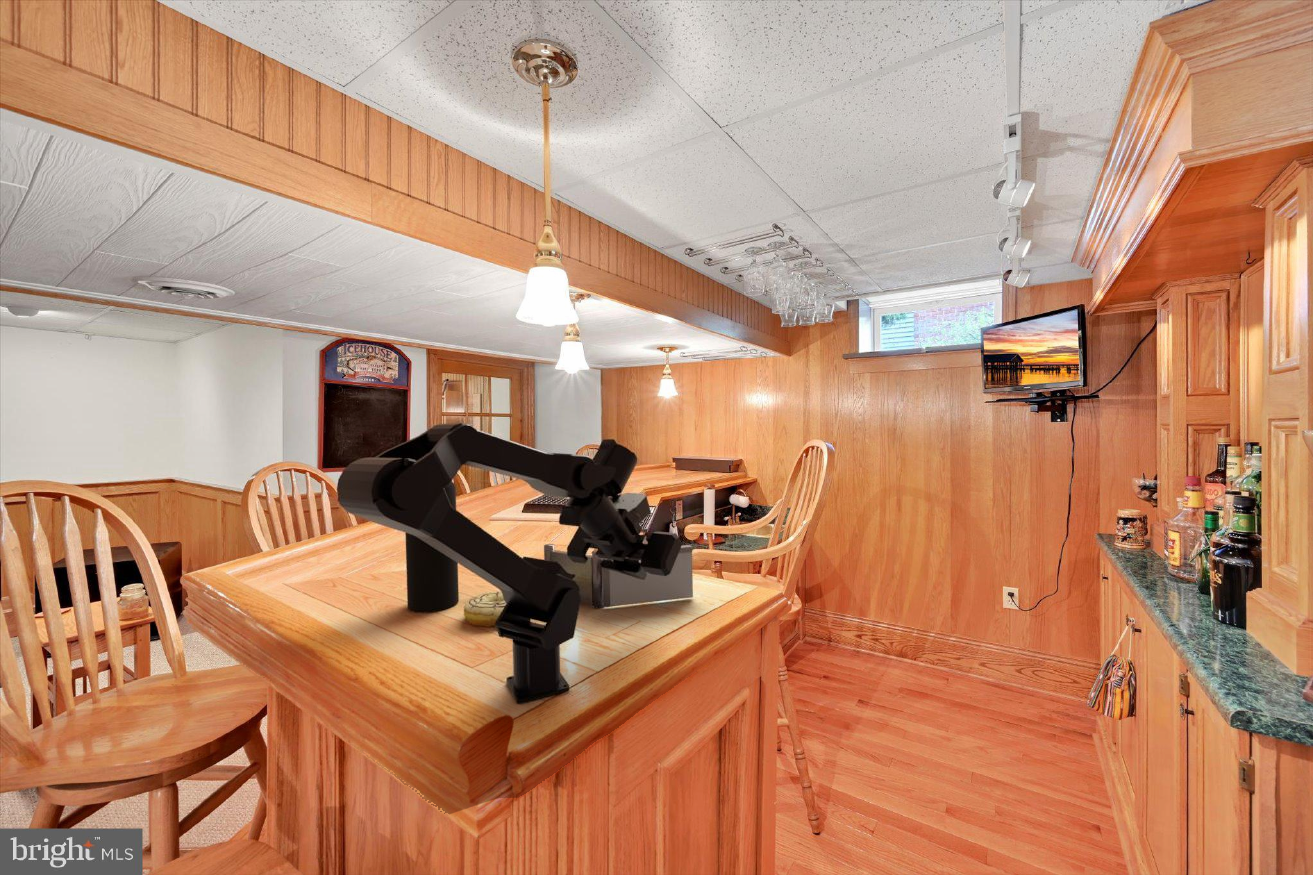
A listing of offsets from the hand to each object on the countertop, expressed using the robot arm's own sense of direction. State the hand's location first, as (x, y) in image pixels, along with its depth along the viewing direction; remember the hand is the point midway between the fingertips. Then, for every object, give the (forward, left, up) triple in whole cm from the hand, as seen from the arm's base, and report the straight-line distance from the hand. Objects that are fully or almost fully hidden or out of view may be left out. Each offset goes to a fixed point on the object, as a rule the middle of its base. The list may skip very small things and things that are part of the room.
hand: (643, 576), depth 85 cm
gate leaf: (+9, -5, -7) cm, 12 cm away
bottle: (+29, +30, -8) cm, 42 cm away
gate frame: (+17, +7, -8) cm, 20 cm away
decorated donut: (+16, +21, -8) cm, 27 cm away
